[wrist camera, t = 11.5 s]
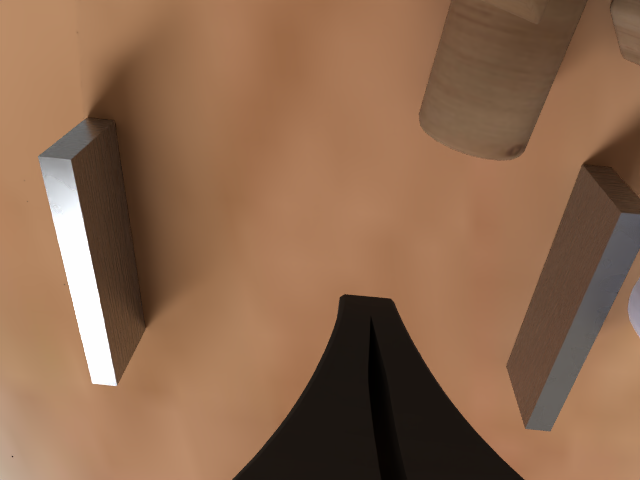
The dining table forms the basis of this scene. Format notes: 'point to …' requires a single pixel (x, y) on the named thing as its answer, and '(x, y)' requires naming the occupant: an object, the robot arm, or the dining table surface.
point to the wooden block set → (505, 69)
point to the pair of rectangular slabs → (533, 339)
